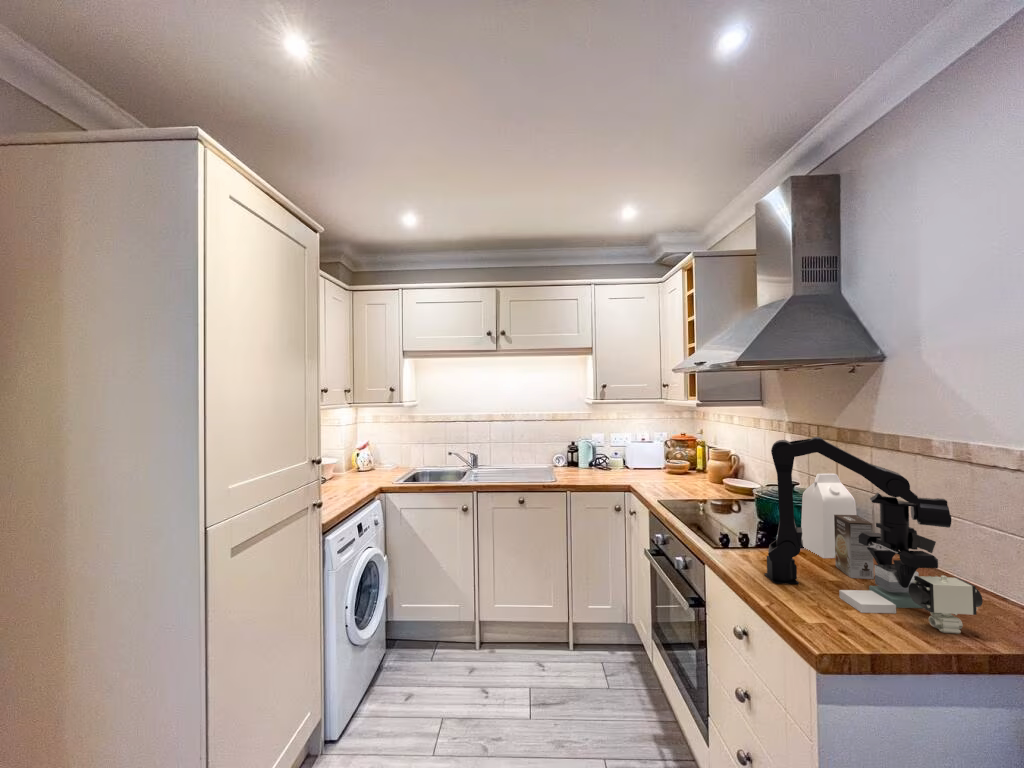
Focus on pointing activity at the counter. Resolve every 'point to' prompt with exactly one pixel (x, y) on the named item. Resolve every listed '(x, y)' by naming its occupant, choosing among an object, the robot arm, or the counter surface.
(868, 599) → the stand
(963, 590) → the pneumatic valve
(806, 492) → the milk
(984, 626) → the counter surface
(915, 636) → the counter surface
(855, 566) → the coffee box
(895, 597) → the stand
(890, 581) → the block
